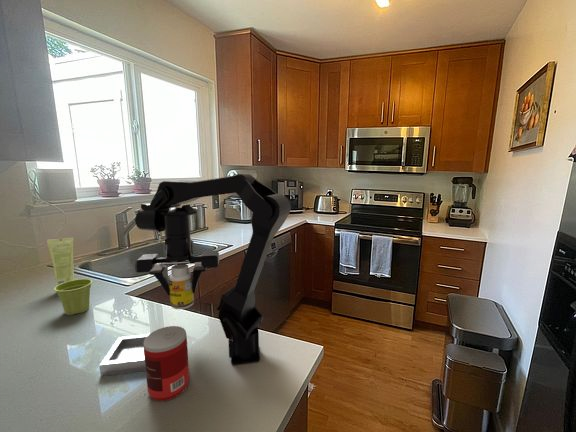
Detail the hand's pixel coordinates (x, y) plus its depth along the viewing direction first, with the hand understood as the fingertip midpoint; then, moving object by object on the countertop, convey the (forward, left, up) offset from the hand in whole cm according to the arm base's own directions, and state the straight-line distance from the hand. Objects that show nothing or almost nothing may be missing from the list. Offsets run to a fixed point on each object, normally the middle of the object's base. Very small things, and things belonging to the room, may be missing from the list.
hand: (181, 293), depth 70 cm
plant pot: (+36, -23, -13) cm, 45 cm away
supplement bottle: (0, 0, -3) cm, 3 cm away
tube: (+48, -41, -13) cm, 64 cm away
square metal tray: (+10, +5, -13) cm, 17 cm away
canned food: (0, +16, -13) cm, 21 cm away
